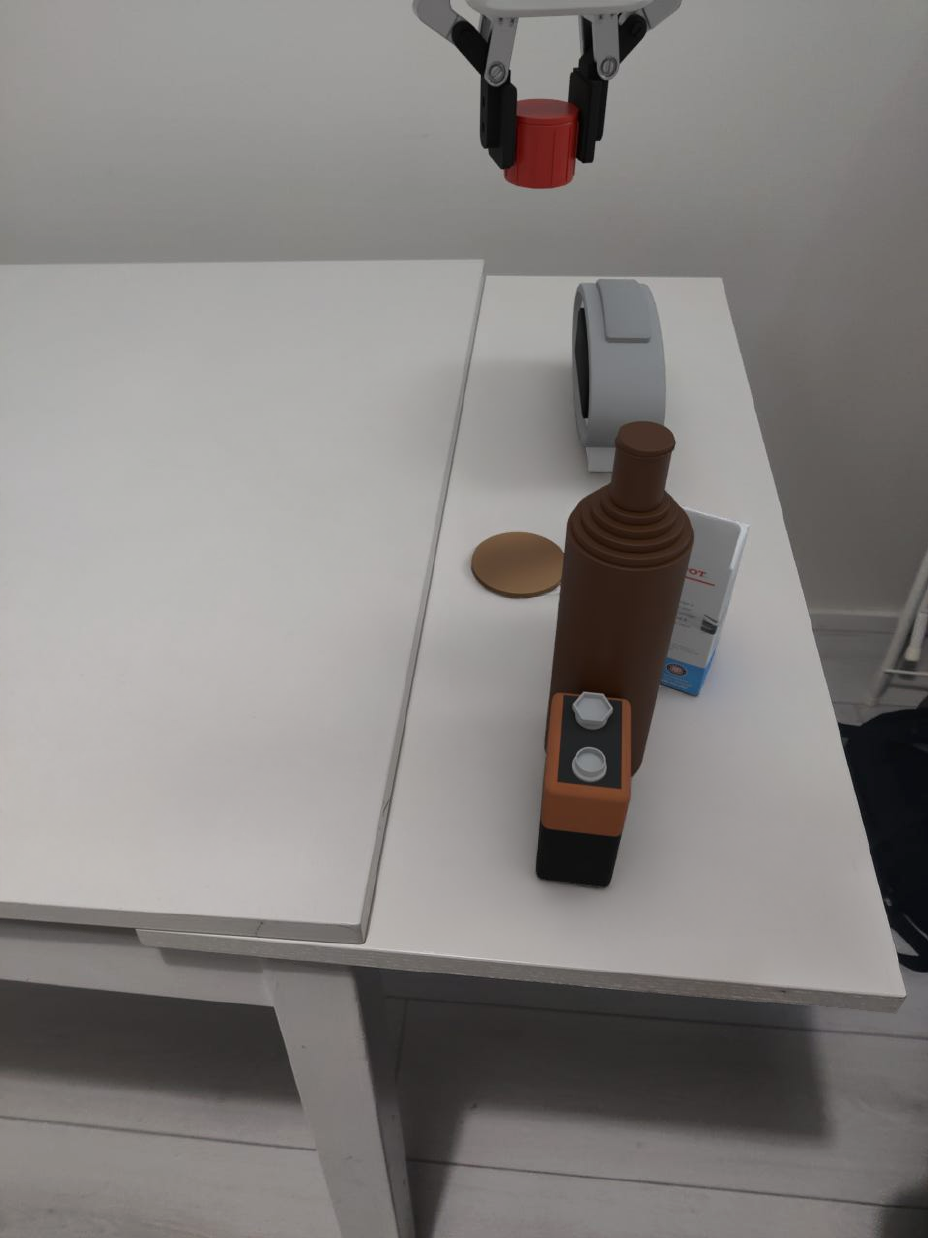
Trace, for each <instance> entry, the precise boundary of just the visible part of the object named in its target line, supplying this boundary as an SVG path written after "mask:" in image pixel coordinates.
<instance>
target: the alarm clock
mask: <svg viewBox="0 0 928 1238" xmlns="http://www.w3.org/2000/svg"><path fill="white" fill-rule="evenodd" d="M572 309H573V310H572V324H571V325H572V327H571V328H572V329H571V331H572V332H571V364H572V365H571V369H572V370H571V371H572V385H573V386H572V388H573V389H572V390H573V403H574V414H575V421H576V422H575V423H576V428H577V432H578V433H577V434H578V438H579V440H580V442H581V445H582V446H583V447H584V448H585V451H586V460H587V469H588V472H589V473H590V472H593V473H599V472H600V473H612V470H613V463H614V456H615V449H616V447H615V443H614V442H615V438H616V437H617V435H618V431H619V430H620V427H621V426H623V425H624V424H627V423H630V422H635V421H649V422H654V423H658V424H661V425H663V426H665V420H666V419H665V418H666V404H667V377H666V376H667V373H666V359H665V349H664V339H663V333H662V332H663V331H662V326H661V320H660V316H659V311H658V307H657V303H656V301H655V297H654V294H653V292H652V290H651V288H650V287H649V285H648V284H647V283H646V284H645V283H640V282H639V281H637V280H636V279H633V278H629V279H628V278H599V279H597V280H596V282H580V283H579V284H578V286H577V287H576V290H575V293H574V300H573V308H572Z"/></svg>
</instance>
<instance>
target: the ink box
mask: <svg viewBox="0 0 928 1238" xmlns="http://www.w3.org/2000/svg"><path fill="white" fill-rule="evenodd" d="M680 506H681V507H682V508H683V509H684V511H685V512H686V513H687V515H688V517H689V519H690V522H691V525H692V528H693V531H694V544H693V548H692V552H691V556H690V560H689V565H688V569H687V573H686V577H685V582H684V586H683V590H682V594H681V599H680V603H679V607H678V611H677V616H676V620H675V624H674V628H673V633H672V637H671V641H670V645H669V650H668V654H667V658H666V662H665V666H664V671H663V675H662V679H661V683H660V685H665V686H666V687H670V688H673V689H675V690H679V691H682V692H684V693H687V694H690V695H693V696H698V695H700V692H701V691H702V688H703V685H704V683H705V680H706V678H707V675H708V673H709V670H710V668H711V665H712V663H713V660H714V657H715V654H716V651H717V648H718V645H719V640H720V637H721V633H722V630H723V627H724V623H725V620H726V617H727V613H728V609H729V607H730V603H731V599H732V594H733V590H734V587H735V583H736V579H737V576H738V572H739V568H740V566H741V565H740V564H741V561H742V557H743V553H744V549H745V546H746V542H747V539H748V534H749V530H750V524H748V523H744V522H741V521H738V520H734V519H730V518H726V517H722V516H719V515H715V514H711V513H709V512H704V511H702V510H701V511H700V510H697V509H693V508H691V507H686V506H683V505H680Z"/></svg>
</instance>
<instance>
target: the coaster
mask: <svg viewBox="0 0 928 1238" xmlns="http://www.w3.org/2000/svg"><path fill="white" fill-rule="evenodd" d="M476 546H477V547H475V548H474V550H473V552H472V555H471V560H470V561H471V562H470V563H471V564H470V566H471V572H472V574H473V577H474V579H475V580H476V581H477V582H478V583H479V584H480V585H481V586H482V587H483V588H485V589H487V590H488V591H490V592H492V593H494V594H496V595H499V596H502V597H508V598H512V599H513V598H514V599H515V598H516V599H527V598H528V599H529V598H534V597H539V596H542V595H545V594H547V593H550V592H551V591H553V590H555V589H556V588H557V587H558V586H560V585H561V577H562V567H563V558H564V550H562V548H561V547H560V546H559V545H558V544H557V543H556V542H554V541H553V540H551V539H549V538H547V537H546V536H543V535H541V534H538V533H534V532H529V531H528V532H527V531H505V532H501V533H497V534H495V535H491V536H489V537H487V538H486V539H484V540H483V541H481V542H480V543H479V544H478V545H476Z"/></svg>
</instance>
